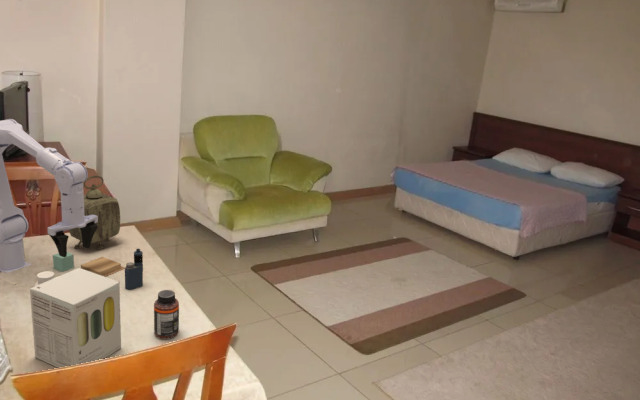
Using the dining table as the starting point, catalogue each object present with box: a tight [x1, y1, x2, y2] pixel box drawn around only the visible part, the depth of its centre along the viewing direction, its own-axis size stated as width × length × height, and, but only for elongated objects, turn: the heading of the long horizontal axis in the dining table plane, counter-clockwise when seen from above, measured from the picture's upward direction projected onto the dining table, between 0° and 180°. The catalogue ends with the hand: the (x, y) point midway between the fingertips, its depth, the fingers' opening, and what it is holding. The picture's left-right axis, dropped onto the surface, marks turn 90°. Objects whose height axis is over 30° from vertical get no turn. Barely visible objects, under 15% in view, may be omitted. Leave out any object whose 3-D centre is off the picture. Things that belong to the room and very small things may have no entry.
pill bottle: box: [34, 270, 55, 287], centre depth 137 cm, size 5×5×10 cm
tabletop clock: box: [68, 175, 121, 250], centre depth 173 cm, size 14×9×25 cm, turn 144°
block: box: [52, 251, 75, 273], centre depth 159 cm, size 4×4×5 cm
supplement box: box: [29, 267, 122, 368], centre depth 119 cm, size 13×13×18 cm
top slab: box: [80, 256, 122, 276], centre depth 161 cm, size 8×8×2 cm
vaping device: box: [124, 248, 144, 291], centre depth 151 cm, size 3×5×12 cm, turn 137°
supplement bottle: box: [153, 289, 180, 340], centre depth 130 cm, size 6×6×11 cm
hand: (74, 251), depth 149 cm, fingers open, 7 cm apart
